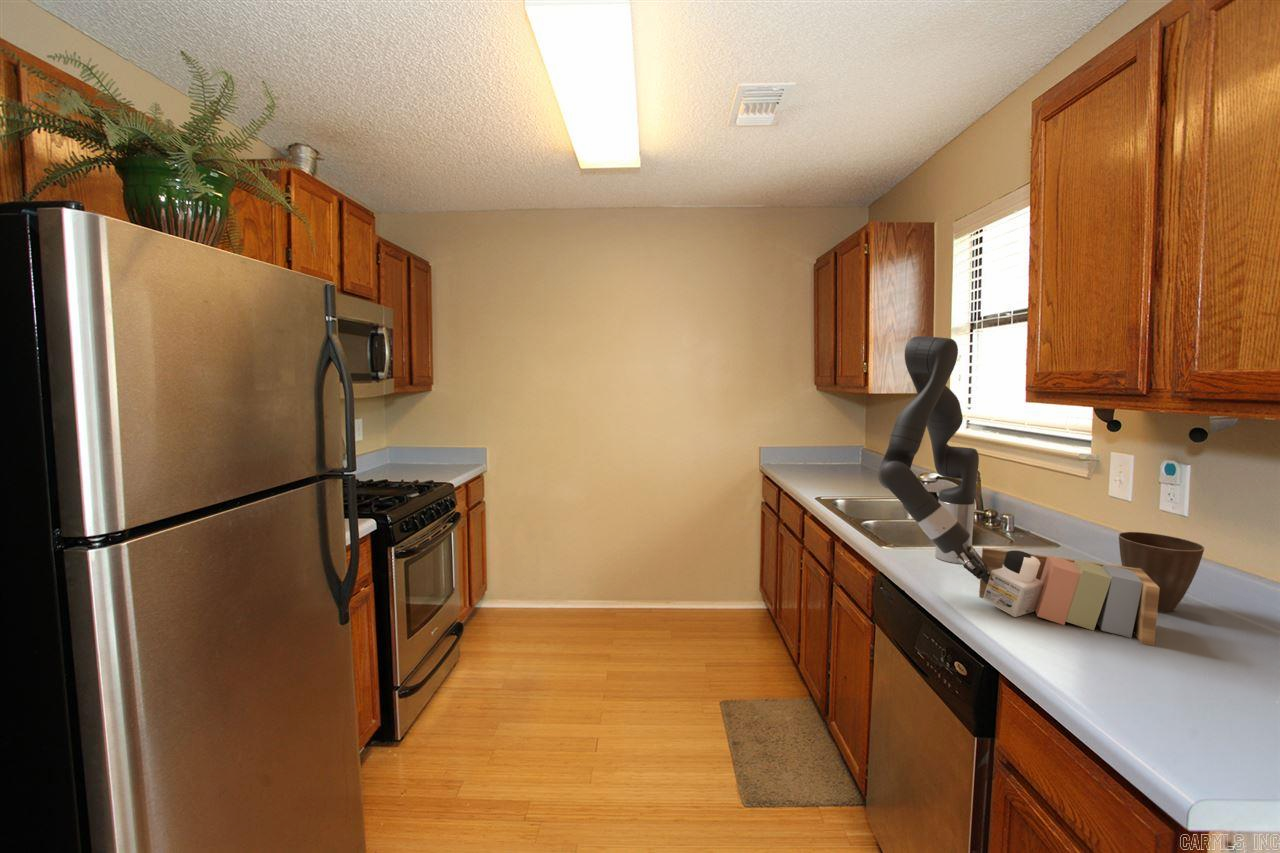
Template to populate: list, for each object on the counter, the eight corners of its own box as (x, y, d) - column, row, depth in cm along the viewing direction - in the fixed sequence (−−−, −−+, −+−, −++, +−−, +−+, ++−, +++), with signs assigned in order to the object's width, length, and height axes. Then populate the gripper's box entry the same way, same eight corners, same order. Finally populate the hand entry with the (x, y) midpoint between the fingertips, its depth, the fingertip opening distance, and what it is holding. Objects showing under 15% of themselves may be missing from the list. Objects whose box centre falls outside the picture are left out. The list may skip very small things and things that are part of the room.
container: (982, 599, 135) (997, 548, 131) (1001, 594, 138) (1017, 545, 135) (1015, 617, 128) (1031, 565, 125) (1035, 612, 132) (1051, 561, 128)
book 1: (1032, 602, 135) (1048, 555, 133) (1057, 610, 133) (1073, 562, 131) (1037, 616, 128) (1053, 565, 125) (1064, 625, 125) (1081, 574, 123)
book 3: (1092, 615, 130) (1103, 564, 128) (1120, 621, 127) (1131, 570, 126) (1101, 630, 122) (1112, 576, 120) (1131, 637, 120) (1143, 582, 118)
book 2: (1059, 607, 133) (1075, 558, 131) (1085, 615, 130) (1102, 566, 128) (1065, 621, 125) (1082, 570, 123) (1093, 630, 123) (1111, 578, 121)
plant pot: (1202, 609, 135) (1209, 542, 134) (1191, 625, 126) (1198, 554, 125) (1121, 590, 147) (1127, 528, 145) (1105, 604, 138) (1111, 538, 136)
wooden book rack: (979, 594, 142) (982, 547, 141) (1136, 621, 128) (1140, 568, 127) (981, 614, 130) (984, 562, 129) (1154, 646, 116) (1159, 588, 115)
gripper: (955, 525, 131) (1014, 589, 127) (956, 514, 143) (1010, 572, 138) (928, 544, 135) (984, 607, 130) (931, 531, 146) (983, 588, 141)
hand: (998, 588), depth 134 cm, fingers closed
